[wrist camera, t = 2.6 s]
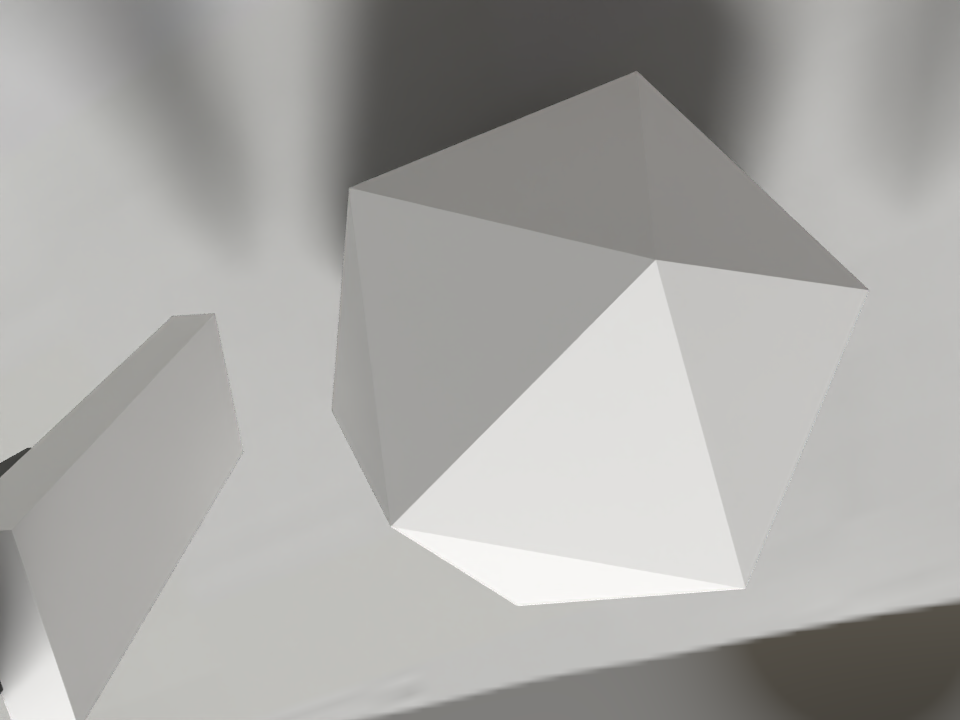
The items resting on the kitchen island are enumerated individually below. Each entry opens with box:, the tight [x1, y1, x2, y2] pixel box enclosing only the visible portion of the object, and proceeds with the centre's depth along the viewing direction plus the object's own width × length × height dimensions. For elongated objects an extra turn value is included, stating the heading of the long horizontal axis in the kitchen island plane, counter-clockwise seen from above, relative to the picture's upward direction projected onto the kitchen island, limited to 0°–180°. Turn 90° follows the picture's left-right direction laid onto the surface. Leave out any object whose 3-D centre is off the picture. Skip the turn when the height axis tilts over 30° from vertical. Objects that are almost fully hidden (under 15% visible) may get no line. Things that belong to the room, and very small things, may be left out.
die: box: [332, 71, 869, 606], centre depth 15 cm, size 8×9×10 cm
